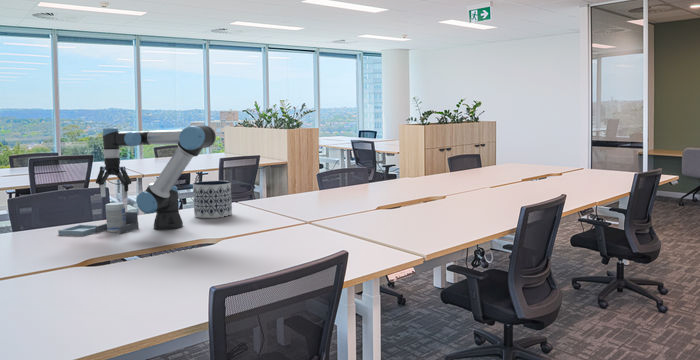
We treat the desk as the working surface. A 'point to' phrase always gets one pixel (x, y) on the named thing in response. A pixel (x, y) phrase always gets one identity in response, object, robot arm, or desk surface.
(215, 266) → the desk surface
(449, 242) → the desk surface
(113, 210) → the supplement tub
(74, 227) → the tray
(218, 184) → the planter
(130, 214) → the bay
